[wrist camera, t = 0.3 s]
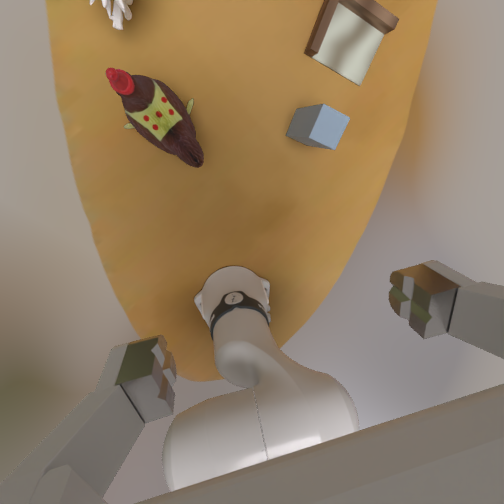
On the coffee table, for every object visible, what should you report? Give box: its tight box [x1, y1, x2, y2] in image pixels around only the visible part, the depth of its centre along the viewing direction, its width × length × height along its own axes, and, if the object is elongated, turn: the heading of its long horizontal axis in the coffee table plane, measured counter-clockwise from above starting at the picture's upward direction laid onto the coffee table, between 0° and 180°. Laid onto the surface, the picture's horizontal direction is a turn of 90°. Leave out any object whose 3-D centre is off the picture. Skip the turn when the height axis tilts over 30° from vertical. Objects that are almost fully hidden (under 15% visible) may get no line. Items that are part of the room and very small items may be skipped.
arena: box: [304, 0, 399, 86], centre depth 45 cm, size 12×10×3 cm
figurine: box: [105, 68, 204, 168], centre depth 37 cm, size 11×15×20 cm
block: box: [286, 104, 350, 150], centre depth 46 cm, size 5×5×12 cm
